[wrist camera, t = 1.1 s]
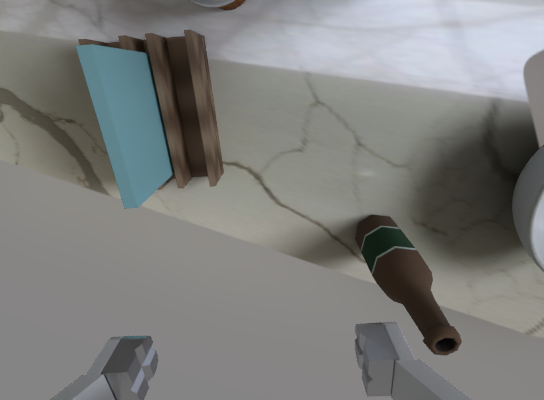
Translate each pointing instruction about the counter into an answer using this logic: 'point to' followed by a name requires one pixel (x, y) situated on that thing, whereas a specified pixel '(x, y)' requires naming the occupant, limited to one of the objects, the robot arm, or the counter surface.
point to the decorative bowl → (531, 207)
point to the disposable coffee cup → (220, 3)
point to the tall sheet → (128, 119)
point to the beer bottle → (405, 280)
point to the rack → (182, 101)
